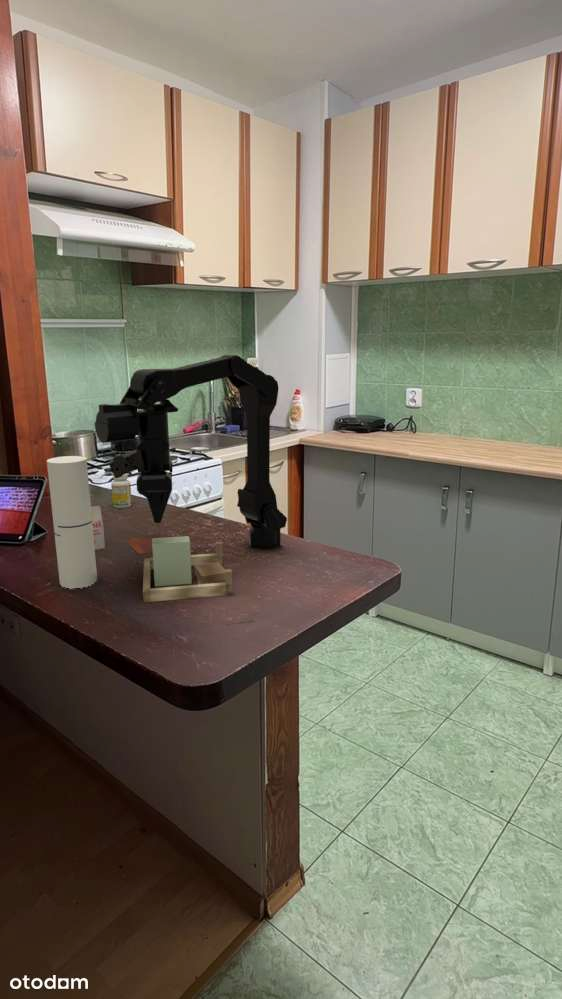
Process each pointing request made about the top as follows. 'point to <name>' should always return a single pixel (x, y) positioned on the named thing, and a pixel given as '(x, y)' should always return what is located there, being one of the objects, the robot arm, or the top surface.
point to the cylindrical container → (72, 521)
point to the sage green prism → (171, 561)
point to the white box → (97, 528)
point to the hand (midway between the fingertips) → (158, 516)
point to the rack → (188, 590)
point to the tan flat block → (210, 573)
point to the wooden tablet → (144, 542)
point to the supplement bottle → (121, 492)
